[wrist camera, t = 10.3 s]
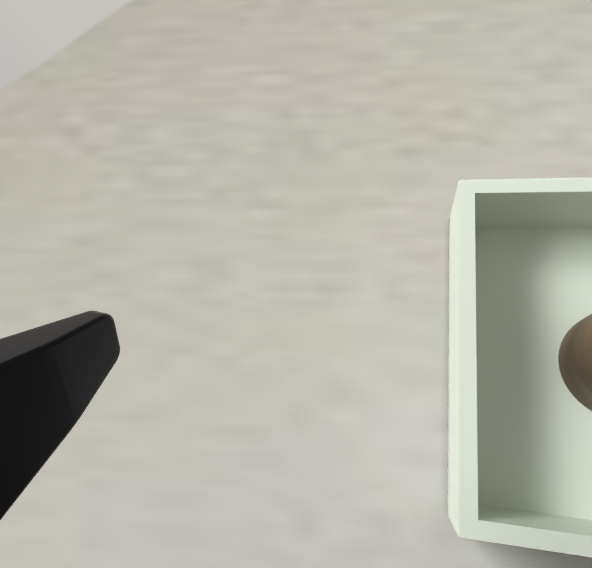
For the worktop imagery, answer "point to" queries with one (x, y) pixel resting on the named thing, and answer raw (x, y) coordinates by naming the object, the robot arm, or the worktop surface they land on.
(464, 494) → the bin
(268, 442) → the worktop surface
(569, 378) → the mill
